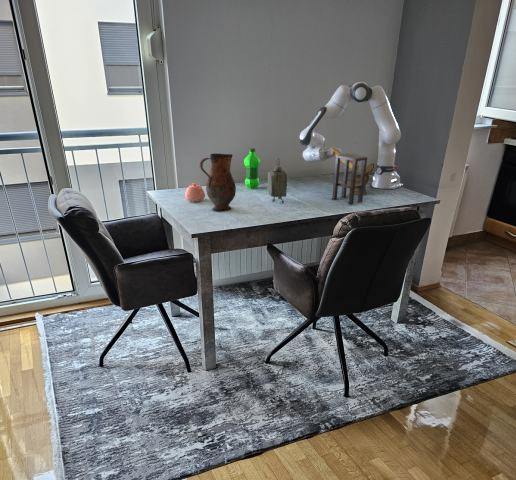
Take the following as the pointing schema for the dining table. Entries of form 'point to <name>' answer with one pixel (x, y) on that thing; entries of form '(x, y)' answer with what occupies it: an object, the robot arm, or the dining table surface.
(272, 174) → the tabletop clock
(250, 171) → the plastic bottle
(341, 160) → the bar
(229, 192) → the pitcher
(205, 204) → the dining table surface
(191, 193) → the sugar bowl
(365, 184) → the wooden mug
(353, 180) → the stand
